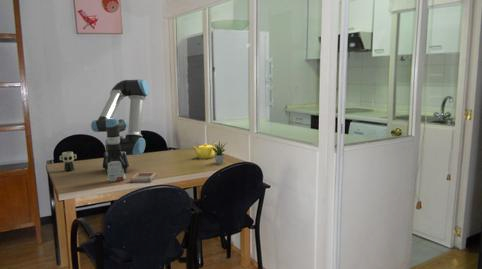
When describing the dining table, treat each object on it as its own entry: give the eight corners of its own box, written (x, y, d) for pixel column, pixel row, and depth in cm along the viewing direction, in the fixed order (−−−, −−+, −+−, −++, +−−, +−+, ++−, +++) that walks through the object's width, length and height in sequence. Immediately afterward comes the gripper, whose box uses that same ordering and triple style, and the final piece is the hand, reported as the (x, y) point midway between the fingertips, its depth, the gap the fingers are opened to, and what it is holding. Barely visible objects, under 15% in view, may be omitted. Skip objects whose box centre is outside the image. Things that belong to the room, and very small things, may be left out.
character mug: (60, 172, 266) (58, 154, 264) (61, 170, 272) (59, 152, 270) (77, 170, 270) (75, 152, 268) (77, 168, 276) (76, 150, 274)
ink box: (124, 178, 243) (123, 160, 242) (122, 180, 239) (121, 162, 237) (111, 179, 243) (109, 161, 241) (108, 181, 238) (107, 162, 237)
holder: (129, 182, 234) (129, 178, 234) (137, 176, 249) (137, 172, 248) (150, 182, 233) (150, 178, 233) (157, 175, 248) (157, 172, 248)
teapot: (199, 161, 288) (198, 147, 286) (189, 158, 300) (188, 144, 299) (223, 157, 300) (223, 143, 299) (213, 154, 313) (213, 141, 311)
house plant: (224, 159, 290) (223, 138, 288) (234, 162, 279) (233, 140, 277) (207, 162, 283) (206, 140, 280) (217, 165, 271) (216, 143, 269)
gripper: (94, 144, 234) (97, 180, 238) (128, 144, 233) (131, 179, 236) (99, 142, 242) (102, 177, 245) (132, 141, 240) (135, 176, 244)
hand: (116, 178), depth 241 cm, fingers closed on ink box, 9 cm apart
